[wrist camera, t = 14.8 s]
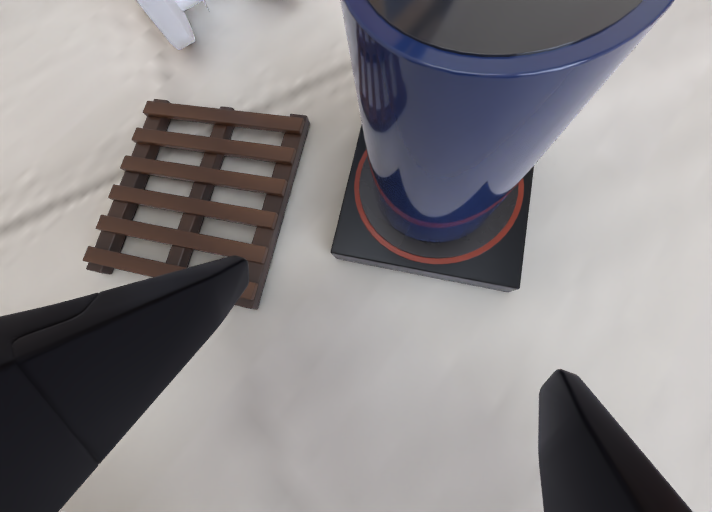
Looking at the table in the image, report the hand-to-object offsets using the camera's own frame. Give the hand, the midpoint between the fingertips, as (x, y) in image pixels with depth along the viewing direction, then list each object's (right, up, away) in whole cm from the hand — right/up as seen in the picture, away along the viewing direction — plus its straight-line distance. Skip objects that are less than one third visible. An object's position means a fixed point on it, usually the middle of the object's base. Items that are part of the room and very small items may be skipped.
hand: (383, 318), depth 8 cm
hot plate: (+4, +6, +10) cm, 12 cm away
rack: (-11, +6, +12) cm, 17 cm away
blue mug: (+4, +7, +8) cm, 12 cm away
